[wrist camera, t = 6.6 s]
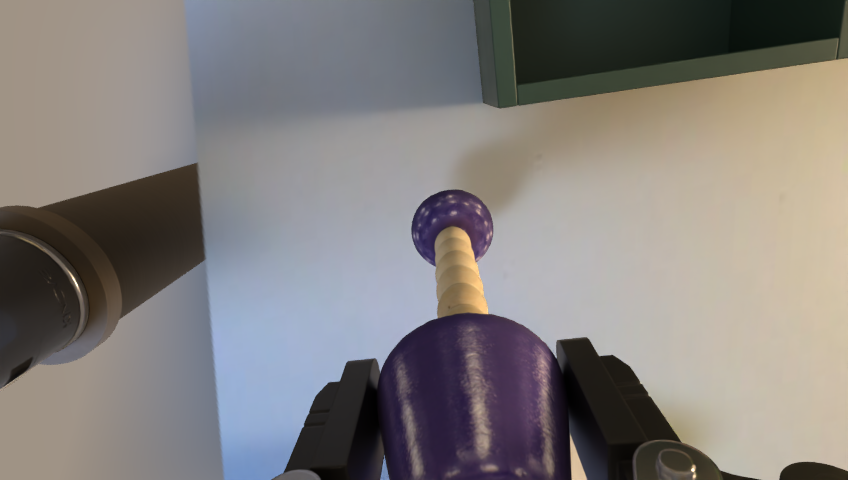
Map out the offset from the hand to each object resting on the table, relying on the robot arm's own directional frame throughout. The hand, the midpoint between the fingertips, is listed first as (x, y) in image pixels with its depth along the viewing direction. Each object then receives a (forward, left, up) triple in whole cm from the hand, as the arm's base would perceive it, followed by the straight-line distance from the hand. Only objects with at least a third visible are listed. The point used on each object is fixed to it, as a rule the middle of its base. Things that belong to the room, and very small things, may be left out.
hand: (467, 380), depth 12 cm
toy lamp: (0, 0, -13) cm, 13 cm away
